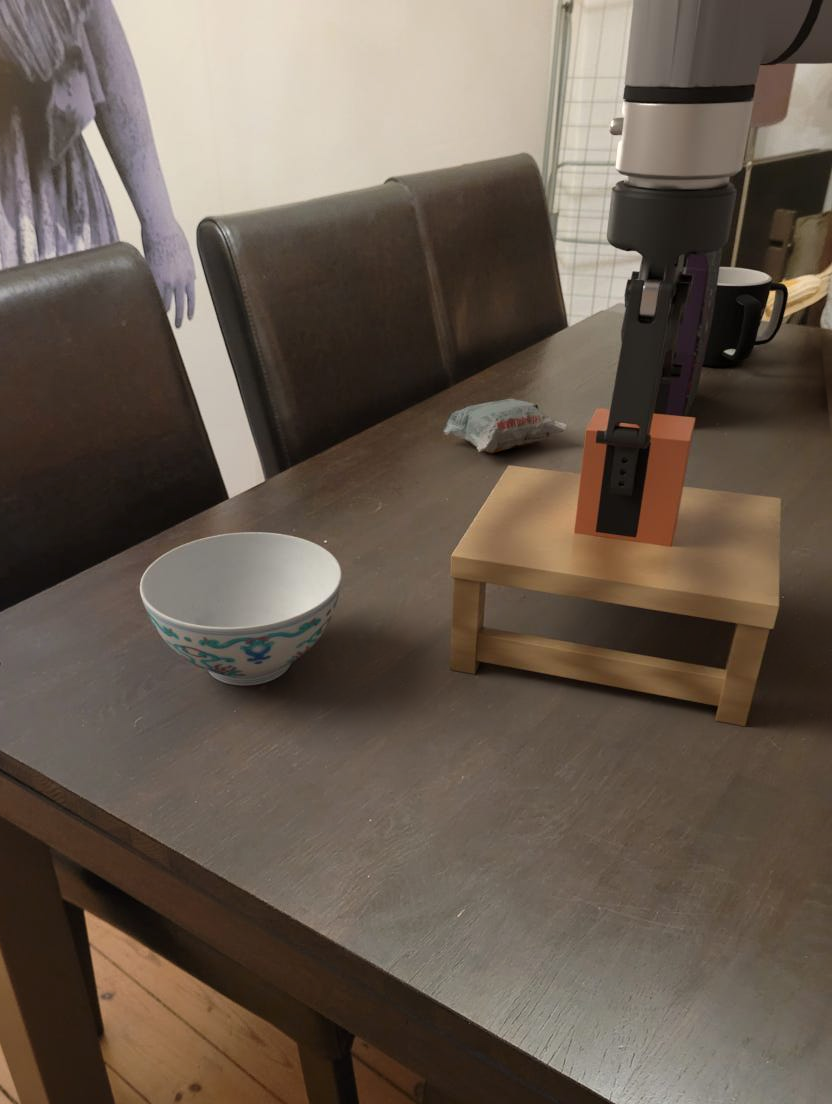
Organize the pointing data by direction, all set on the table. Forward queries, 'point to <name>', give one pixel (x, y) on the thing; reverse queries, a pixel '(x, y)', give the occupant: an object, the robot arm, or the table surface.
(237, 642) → the chinaware
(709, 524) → the wooden footstool
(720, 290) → the mug
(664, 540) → the small box
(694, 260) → the purple coffee bag
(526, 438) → the packaged food
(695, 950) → the table surface
